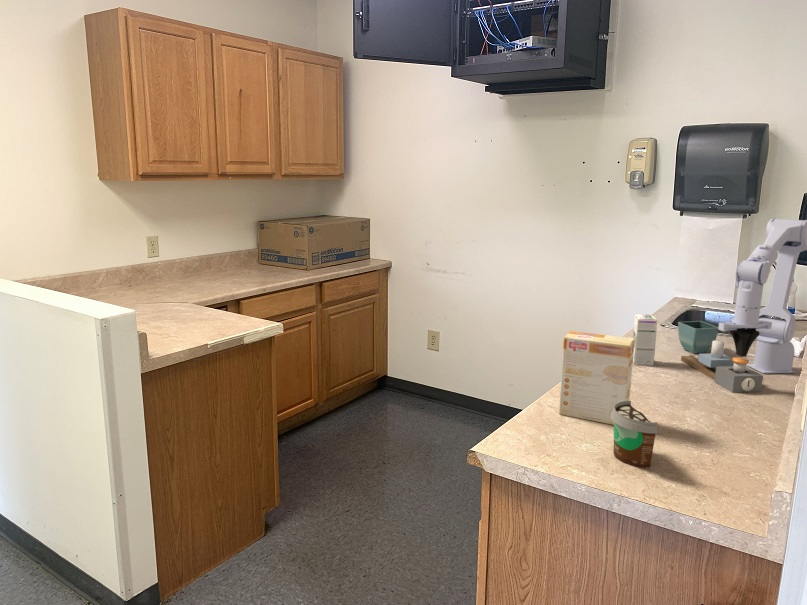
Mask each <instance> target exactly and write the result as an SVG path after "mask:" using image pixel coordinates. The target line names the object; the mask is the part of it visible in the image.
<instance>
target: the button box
mask: <svg viewBox="0 0 807 605" xmlns="http://www.w3.org/2000/svg"><path fill="white" fill-rule="evenodd" d="M763 380H764V375H763V374H762V373H760V372H758V371H756V370H755V371H754V369H752V368H749V367H748V366H746V372H745V373H739V374H737V373H735V372H733V366H717V367H716V373H715V380H714V383H715V384H717V385H719V386H721V387H722V388H724V389H726V390H727V391H729V392H731V393H755V392H756V393H759V392H762V386H763Z"/></svg>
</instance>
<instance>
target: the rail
mask: <svg viewBox="0 0 807 605" xmlns="http://www.w3.org/2000/svg"><path fill="white" fill-rule="evenodd" d="M698 358H699V355H698V354H696V353H692V352H689V355H681V358H680V361H681V362H682V363H684V364H686V365H688V366H690V367H691V368H693V369H695V370H697V371H698V372H700V373H702V374H704V375H705V376H707V377H709V378H711V380H714V381H715V373H716V368H710V367H708V366H706V365H704V364H703V363H701V362H699V361H698Z"/></svg>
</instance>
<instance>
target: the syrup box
mask: <svg viewBox="0 0 807 605" xmlns="http://www.w3.org/2000/svg"><path fill="white" fill-rule="evenodd" d="M657 327H658V319H657V318H656V317H655V315H653V314H641V313H640V314H634V323H633V335H632V338H634V339H635V343H634V355H633V364H634V365H636V366H646V365H647V366H648V367H649V366H650V367H654V366H655V365H654V364H655V355H656V354H655V353H656V343H657V342H656V341H657V329H658V328H657Z"/></svg>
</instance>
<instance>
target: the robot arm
mask: <svg viewBox="0 0 807 605" xmlns="http://www.w3.org/2000/svg"><path fill="white" fill-rule="evenodd" d="M765 236H766V239H765V241H764V243H762V244H760V245H757V246H756V247H755V249H754V250H753V251H752V253H751V254H750V255H749V257H748V258H747V259H744V260H742V261H739V263H738V264H737V266H736V271H735V281H736V282H735V287H736V288H737V292H736V300H735V307H734V313H733V314H734V315H733V318H732V320H729V321H724V322H723V321H722V322H718V326H717V327H718V331H721V332H727V331H729V332H730V334H731V337H732V338H733V342H734V346H735V353H736V354H735V355H737V356H739V357H740V358H744V357H747V355H748V352H749V351H750V349H751V346H752V345H753V343H754V342H755V340H756V344H755V351H754V358H753V362H752V363H748V364H747V365H746V367H748V368H749V367H750V369H752V370H755V371H756V372H758V373H760V374H767V375H768V374H794V373H795V372H794V370H793V363H794V357H795V346H794V343H792V339H793V337H794V335H795V330H796V316H795V315H794V314H793V313H792V312H791V311H790V310H789V309H788V308H787V307H788V302H789V298H790V295H791V294H790V293H791V289H792V285H793V280H794V275H795V272H796V269H797V268H796V267H797V264H798V258H799V255H800V253H803V252H804V251H807V219H805V220H804V219H802V220H801V219H787V218H785V219H784V218H776V217H772V218H771V219H769V220H768V222H767V225H766V228H765ZM775 262H776V266H775V270H774V275H773V280H772V284H771V289H770V292H769V297H768V302H767V305H766V306H764V307H762V308H761V305H762V297H763V292H764V291H763V289H764V285H765V284H766V283H767V281H768V279H769V275H770V273H771V267H772V266H773V264H774V263H775Z"/></svg>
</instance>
